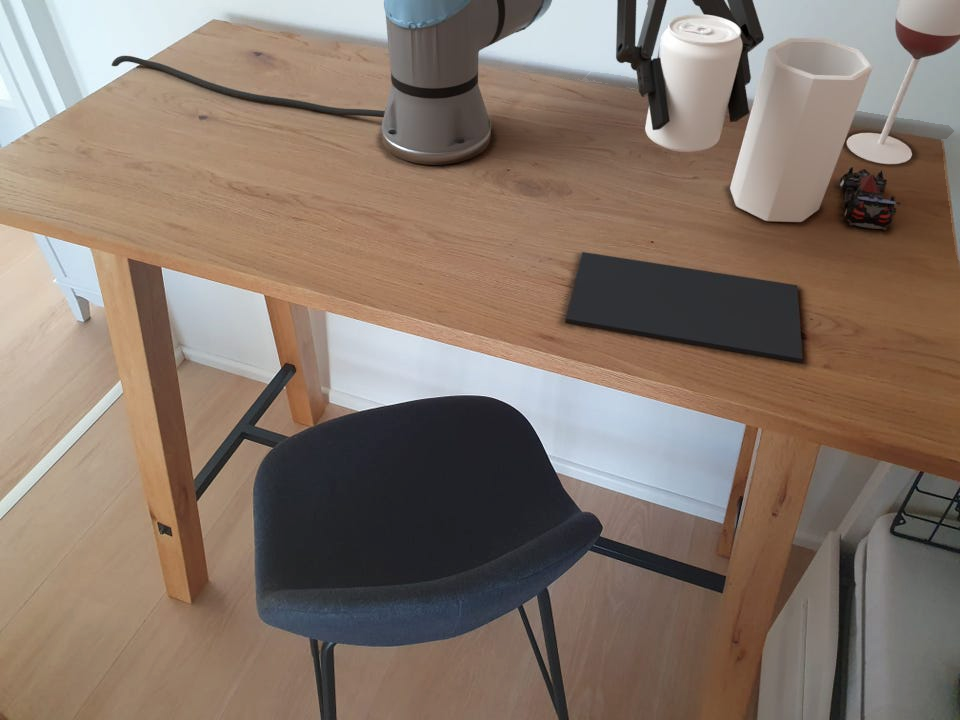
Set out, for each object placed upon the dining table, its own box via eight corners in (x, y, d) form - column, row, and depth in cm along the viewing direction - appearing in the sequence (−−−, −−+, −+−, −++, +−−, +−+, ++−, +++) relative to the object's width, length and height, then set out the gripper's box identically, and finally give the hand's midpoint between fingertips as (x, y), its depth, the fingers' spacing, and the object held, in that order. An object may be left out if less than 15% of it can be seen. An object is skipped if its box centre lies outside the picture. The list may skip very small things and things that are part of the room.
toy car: (840, 226, 94) (852, 197, 91) (834, 175, 102) (844, 148, 99) (893, 233, 93) (907, 205, 90) (882, 182, 101) (894, 154, 98)
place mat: (565, 322, 81) (565, 318, 80) (581, 255, 89) (582, 251, 89) (801, 363, 77) (802, 358, 76) (795, 289, 85) (797, 285, 85)
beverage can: (704, 164, 81) (731, 51, 72) (632, 143, 84) (651, 33, 75) (728, 131, 86) (756, 22, 77) (660, 113, 89) (680, 6, 80)
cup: (824, 188, 100) (877, 47, 87) (812, 233, 93) (868, 86, 80) (738, 168, 103) (777, 29, 90) (720, 211, 96) (759, 66, 83)
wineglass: (842, 158, 105) (910, -19, 89) (846, 125, 112) (910, -45, 96) (913, 172, 103) (996, -7, 87) (914, 138, 110) (991, -35, 93)
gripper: (744, -80, 85) (773, 123, 85) (563, -70, 82) (594, 142, 82) (781, -123, 77) (812, 100, 78) (584, -113, 74) (617, 119, 74)
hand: (700, 121), depth 80 cm, fingers closed on beverage can, 8 cm apart
